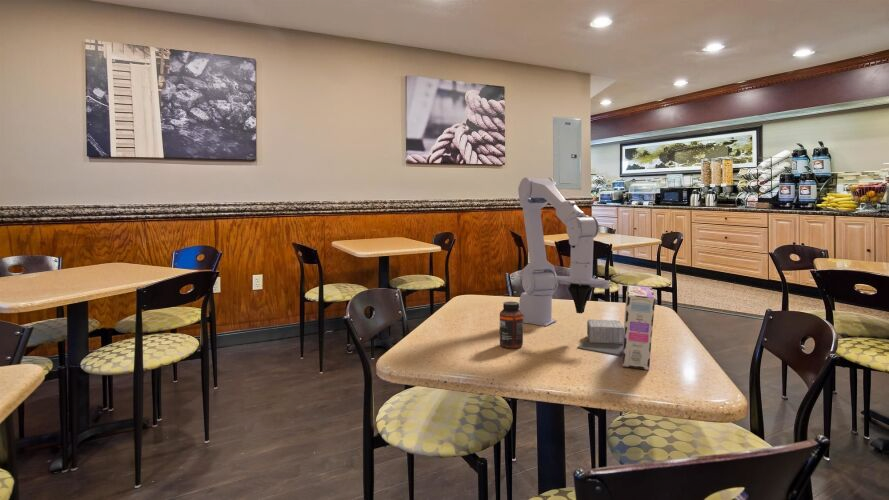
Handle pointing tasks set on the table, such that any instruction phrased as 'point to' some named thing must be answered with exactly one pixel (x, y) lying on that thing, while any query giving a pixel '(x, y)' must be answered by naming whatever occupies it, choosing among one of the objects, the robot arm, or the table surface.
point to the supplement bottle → (511, 326)
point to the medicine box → (605, 331)
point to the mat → (603, 347)
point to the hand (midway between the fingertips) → (580, 312)
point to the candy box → (638, 326)
